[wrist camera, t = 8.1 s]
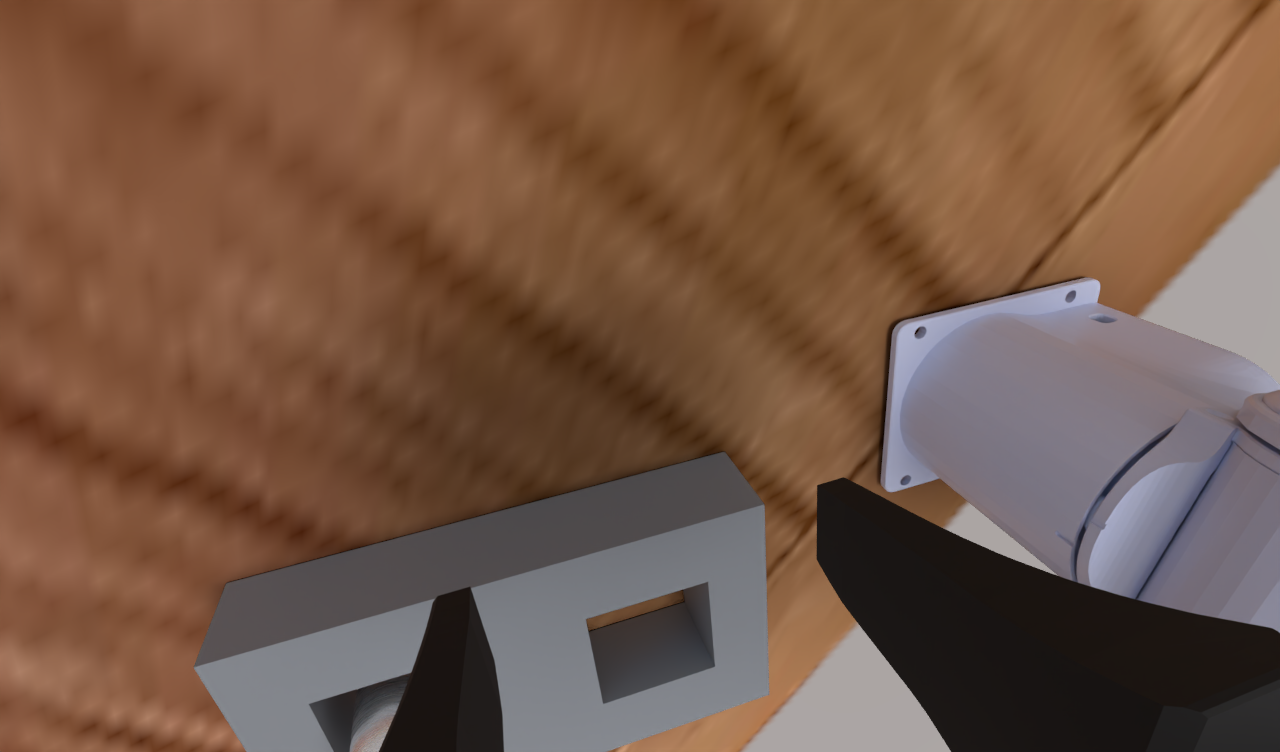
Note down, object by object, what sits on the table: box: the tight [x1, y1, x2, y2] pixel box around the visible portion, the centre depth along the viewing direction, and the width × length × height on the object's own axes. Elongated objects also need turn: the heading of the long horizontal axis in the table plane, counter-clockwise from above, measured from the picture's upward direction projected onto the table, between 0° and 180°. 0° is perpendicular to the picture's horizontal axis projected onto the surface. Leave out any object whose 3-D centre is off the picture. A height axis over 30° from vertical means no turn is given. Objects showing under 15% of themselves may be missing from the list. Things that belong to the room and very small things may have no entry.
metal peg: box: [350, 673, 411, 752], centre depth 22 cm, size 3×3×7 cm
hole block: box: [194, 452, 769, 752], centre depth 24 cm, size 18×10×4 cm, turn 96°
